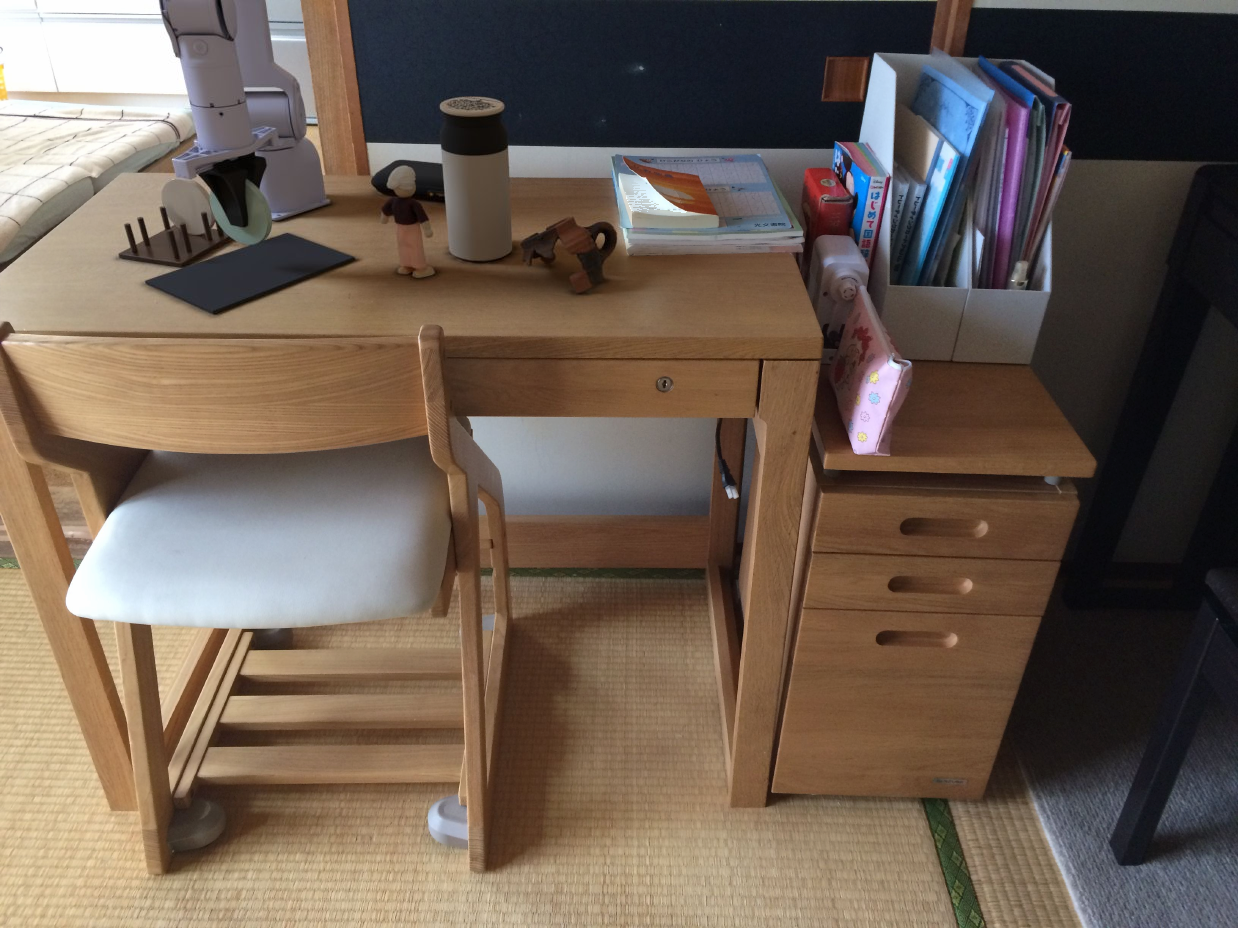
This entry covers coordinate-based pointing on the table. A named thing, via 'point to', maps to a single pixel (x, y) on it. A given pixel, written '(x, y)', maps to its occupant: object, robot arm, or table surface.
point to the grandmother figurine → (408, 222)
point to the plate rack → (173, 243)
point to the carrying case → (426, 178)
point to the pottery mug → (574, 248)
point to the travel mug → (476, 178)
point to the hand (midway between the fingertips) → (243, 223)
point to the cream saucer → (187, 204)
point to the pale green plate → (257, 217)
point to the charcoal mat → (249, 272)
